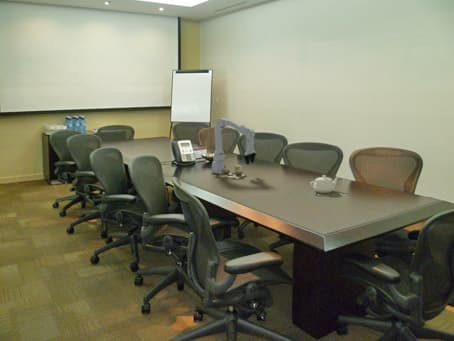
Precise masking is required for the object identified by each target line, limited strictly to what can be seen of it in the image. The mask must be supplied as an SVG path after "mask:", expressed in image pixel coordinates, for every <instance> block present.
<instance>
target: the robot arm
mask: <svg viewBox="0 0 454 341" xmlns="http://www.w3.org/2000/svg"><path fill="white" fill-rule="evenodd" d="M227 126H229V127H231V128H234V129H236V130H237V133H240V134H242V135H243V136H245V138H246V140H245V141H246V142H245V144H246V146H245V150H246V151H245V152H244V153H243V158H244V160H245V164H246V165H249V164H250V163H252V164H253V163H254V162H255V158H256V156H257V153H256V150H254V149H255V145H254V144H255V143H254V142H255V139H254V138H255V136H256V132H255V130H253V129H250V128H249V127H246V126H245V125H243V124H241V125H239V124H238V123H236V122H235V121H233V120H231V119H230V118H227V117H224V118H217V120H216V121H215V125H214V128H213V129H214V130H213V131H214V146H215V150H214V152H213V157H212V158H213V161H212V163H211V171H210V172H211V173H212V174H219V175H222V174H223V172H222V170H223V169H225V159H226V154H225V151H224V150H223V137H222V130H223V129H224V128H225V127H227Z"/></svg>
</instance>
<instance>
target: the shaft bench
mask: <svg viewBox="0 0 454 341" xmlns="http://www.w3.org/2000/svg"><path fill="white" fill-rule="evenodd" d="M222 172H223V173H222V174H219V175H217V176H218V178H220V179H221V178H223V179H230V180H240V179H243V178H245V177H247V174H244V172H243V170H242V171H235V170H234V172H231V171H230V169H225V168H224V169H223V170H222Z"/></svg>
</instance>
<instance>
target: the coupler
mask: <svg viewBox="0 0 454 341" xmlns="http://www.w3.org/2000/svg"><path fill="white" fill-rule="evenodd" d="M235 171H242V172H243V165H239V164H237V165H234V172H235Z"/></svg>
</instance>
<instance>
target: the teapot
mask: <svg viewBox="0 0 454 341" xmlns="http://www.w3.org/2000/svg"><path fill="white" fill-rule="evenodd" d="M338 179H340V177H339V176H337V177H335V179H334V180H333V178H331V177H327V175H325V174H324V175H323V174H322V176H321V177H320V176H319V177H316V178H315V180H312V181H310V183H309V184H310V187H311V188H312V189H314V191H315V192H317V193H321V194H322V193H323V194H329V193H332V192H333V191H334V190H335V186H336V185H337V181H338Z"/></svg>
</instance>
